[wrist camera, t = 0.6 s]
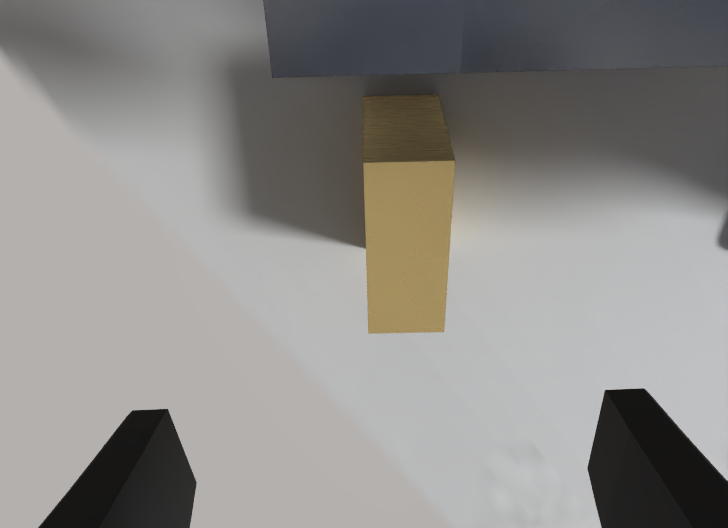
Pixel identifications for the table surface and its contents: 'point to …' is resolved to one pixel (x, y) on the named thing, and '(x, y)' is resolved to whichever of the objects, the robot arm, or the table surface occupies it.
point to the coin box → (491, 35)
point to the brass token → (407, 212)
